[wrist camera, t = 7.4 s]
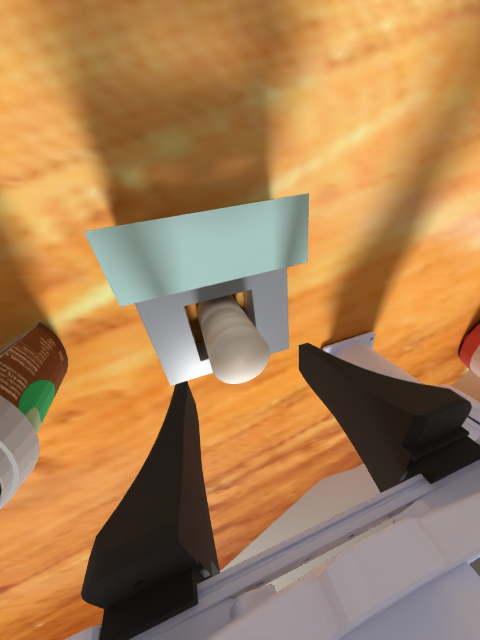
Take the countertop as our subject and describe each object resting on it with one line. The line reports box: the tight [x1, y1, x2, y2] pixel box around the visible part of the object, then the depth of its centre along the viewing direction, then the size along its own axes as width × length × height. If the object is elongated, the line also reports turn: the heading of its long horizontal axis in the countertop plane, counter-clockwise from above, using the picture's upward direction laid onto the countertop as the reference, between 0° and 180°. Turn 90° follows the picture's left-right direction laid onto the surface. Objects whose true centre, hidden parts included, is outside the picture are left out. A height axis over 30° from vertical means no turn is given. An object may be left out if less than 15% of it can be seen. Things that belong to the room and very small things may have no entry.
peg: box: [197, 295, 270, 384], centre depth 17 cm, size 4×4×8 cm
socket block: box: [85, 194, 309, 386], centre depth 17 cm, size 14×12×6 cm
